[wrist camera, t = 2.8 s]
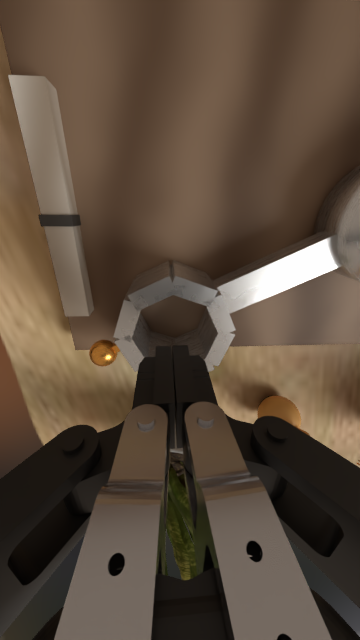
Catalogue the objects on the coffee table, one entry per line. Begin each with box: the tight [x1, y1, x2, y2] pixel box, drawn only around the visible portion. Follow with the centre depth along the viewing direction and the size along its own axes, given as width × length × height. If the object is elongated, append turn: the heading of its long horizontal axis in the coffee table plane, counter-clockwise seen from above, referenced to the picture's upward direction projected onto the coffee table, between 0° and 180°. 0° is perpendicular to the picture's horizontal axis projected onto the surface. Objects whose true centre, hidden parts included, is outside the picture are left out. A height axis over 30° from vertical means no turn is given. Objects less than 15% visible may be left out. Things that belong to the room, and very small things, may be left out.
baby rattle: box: [89, 166, 360, 372], centre depth 14 cm, size 24×7×4 cm, turn 114°
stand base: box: [0, 0, 360, 350], centre depth 15 cm, size 25×19×3 cm
